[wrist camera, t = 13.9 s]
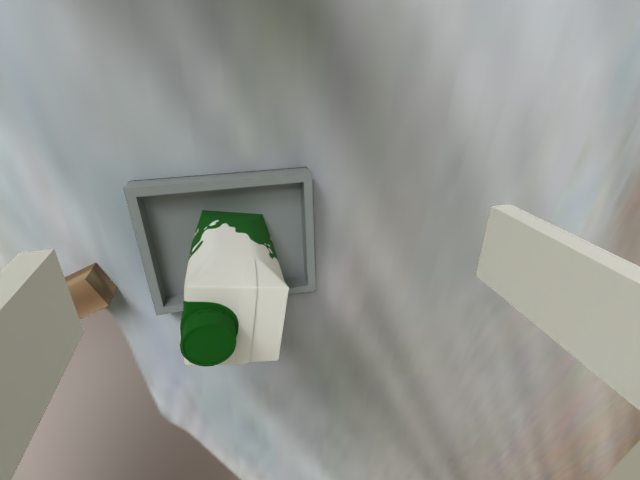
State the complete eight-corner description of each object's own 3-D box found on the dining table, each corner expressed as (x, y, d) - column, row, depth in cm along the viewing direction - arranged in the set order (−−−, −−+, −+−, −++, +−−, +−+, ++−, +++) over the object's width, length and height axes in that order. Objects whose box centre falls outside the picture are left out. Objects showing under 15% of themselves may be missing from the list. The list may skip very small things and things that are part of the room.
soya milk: (194, 201, 42) (174, 294, 24) (271, 207, 45) (304, 295, 27) (192, 268, 45) (174, 392, 28) (264, 270, 48) (289, 384, 30)
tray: (129, 181, 40) (123, 188, 37) (306, 166, 44) (311, 172, 42) (160, 301, 47) (156, 315, 44) (310, 279, 51) (315, 290, 48)
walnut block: (64, 277, 43) (50, 295, 39) (96, 262, 43) (85, 279, 39) (87, 301, 45) (76, 321, 41) (117, 287, 45) (108, 305, 41)
